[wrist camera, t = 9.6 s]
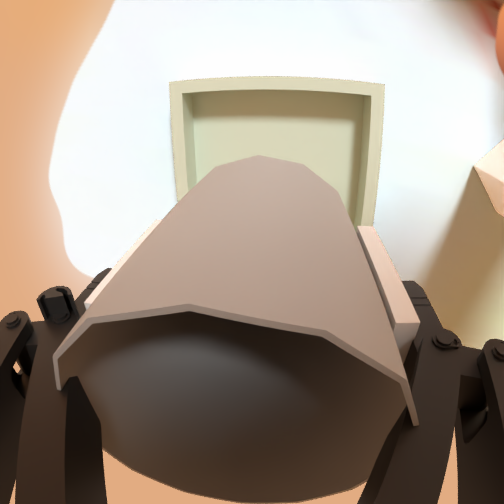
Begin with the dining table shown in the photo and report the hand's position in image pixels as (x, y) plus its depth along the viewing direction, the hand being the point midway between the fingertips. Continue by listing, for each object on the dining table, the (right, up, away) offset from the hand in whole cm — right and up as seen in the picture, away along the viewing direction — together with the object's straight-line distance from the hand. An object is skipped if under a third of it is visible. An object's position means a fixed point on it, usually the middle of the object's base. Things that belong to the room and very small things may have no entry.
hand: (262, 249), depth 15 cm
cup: (0, 0, 0) cm, 1 cm away
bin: (+2, +7, +13) cm, 15 cm away
